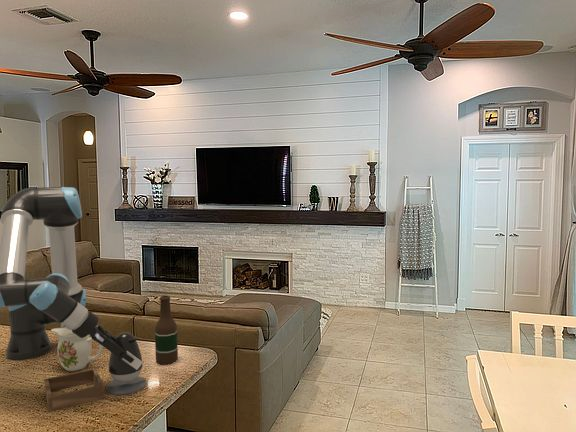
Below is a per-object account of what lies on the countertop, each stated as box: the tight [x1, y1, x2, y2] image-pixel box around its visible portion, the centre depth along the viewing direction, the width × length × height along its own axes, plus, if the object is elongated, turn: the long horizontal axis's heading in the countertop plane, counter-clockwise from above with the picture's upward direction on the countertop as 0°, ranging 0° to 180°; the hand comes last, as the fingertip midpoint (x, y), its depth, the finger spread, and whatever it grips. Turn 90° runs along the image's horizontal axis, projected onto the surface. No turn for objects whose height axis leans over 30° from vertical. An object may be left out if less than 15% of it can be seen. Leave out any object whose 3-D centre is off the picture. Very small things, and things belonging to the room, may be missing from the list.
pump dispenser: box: [108, 331, 144, 383], centre depth 145 cm, size 10×10×15 cm
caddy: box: [43, 367, 105, 412], centre depth 140 cm, size 15×15×4 cm
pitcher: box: [50, 326, 104, 372], centre depth 161 cm, size 11×18×14 cm, turn 88°
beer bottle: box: [154, 295, 179, 366], centre depth 165 cm, size 8×8×24 cm
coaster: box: [106, 375, 147, 396], centre depth 146 cm, size 12×12×1 cm
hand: (135, 360), depth 147 cm, fingers closed on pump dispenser, 10 cm apart
